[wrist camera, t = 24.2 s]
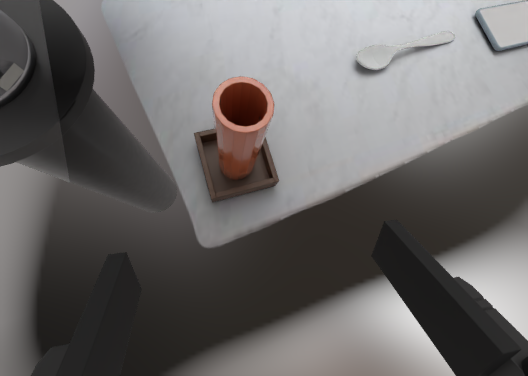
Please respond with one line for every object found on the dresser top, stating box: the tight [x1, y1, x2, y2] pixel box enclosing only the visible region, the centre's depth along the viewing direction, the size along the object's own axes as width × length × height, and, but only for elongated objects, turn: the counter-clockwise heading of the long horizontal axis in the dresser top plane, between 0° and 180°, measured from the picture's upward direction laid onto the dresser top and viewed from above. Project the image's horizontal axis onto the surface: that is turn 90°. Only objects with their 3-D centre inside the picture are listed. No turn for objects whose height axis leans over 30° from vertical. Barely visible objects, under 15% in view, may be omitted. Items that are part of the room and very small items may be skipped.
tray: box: [194, 129, 279, 202], centre depth 31 cm, size 8×8×3 cm
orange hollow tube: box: [212, 77, 274, 180], centre depth 25 cm, size 4×4×14 cm
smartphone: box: [475, 0, 528, 51], centre depth 44 cm, size 8×1×15 cm
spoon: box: [357, 31, 455, 70], centre depth 39 cm, size 4×21×2 cm, turn 114°
